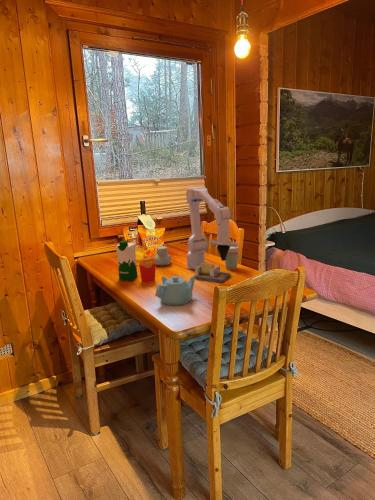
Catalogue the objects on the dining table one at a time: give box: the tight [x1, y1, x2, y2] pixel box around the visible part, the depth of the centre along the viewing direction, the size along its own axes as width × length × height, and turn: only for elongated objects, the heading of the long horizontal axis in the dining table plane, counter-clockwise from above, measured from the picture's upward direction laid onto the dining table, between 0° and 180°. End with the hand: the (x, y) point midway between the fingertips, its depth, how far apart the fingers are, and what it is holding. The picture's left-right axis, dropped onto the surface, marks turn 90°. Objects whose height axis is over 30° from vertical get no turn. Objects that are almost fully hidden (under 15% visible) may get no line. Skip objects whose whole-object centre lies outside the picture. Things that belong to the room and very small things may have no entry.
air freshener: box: [154, 245, 172, 267], centre depth 209 cm, size 11×8×10 cm
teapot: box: [154, 275, 196, 307], centre depth 157 cm, size 15×15×11 cm
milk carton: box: [115, 240, 138, 282], centre depth 186 cm, size 9×9×20 cm
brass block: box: [201, 261, 216, 276], centre depth 185 cm, size 6×4×6 cm, turn 61°
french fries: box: [138, 256, 157, 284], centre depth 182 cm, size 8×4×12 cm, turn 111°
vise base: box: [192, 265, 232, 284], centre depth 184 cm, size 16×11×6 cm
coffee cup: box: [224, 246, 240, 271], centre depth 197 cm, size 8×8×12 cm
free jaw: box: [210, 264, 221, 277], centre depth 183 cm, size 2×8×4 cm, turn 151°
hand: (223, 260), depth 178 cm, fingers closed
